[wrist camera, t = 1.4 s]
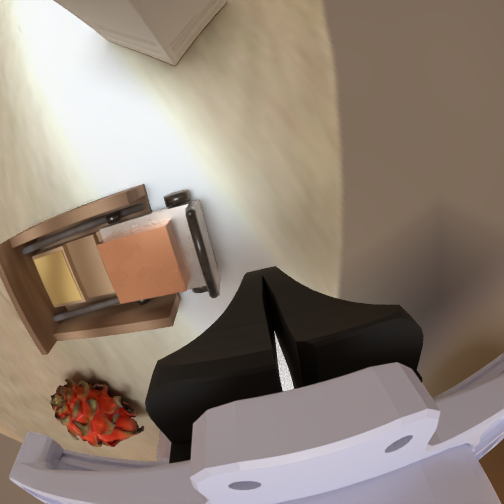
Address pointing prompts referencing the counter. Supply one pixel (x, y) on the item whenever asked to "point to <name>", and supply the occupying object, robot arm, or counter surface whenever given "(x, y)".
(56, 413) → the dragon fruit
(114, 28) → the supplement box
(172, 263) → the wheeled platform dolly
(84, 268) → the brown wooden open box
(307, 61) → the counter surface
